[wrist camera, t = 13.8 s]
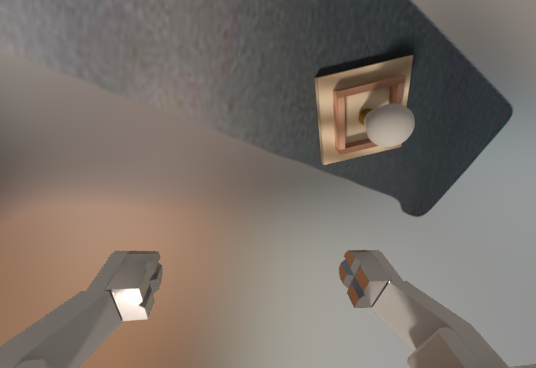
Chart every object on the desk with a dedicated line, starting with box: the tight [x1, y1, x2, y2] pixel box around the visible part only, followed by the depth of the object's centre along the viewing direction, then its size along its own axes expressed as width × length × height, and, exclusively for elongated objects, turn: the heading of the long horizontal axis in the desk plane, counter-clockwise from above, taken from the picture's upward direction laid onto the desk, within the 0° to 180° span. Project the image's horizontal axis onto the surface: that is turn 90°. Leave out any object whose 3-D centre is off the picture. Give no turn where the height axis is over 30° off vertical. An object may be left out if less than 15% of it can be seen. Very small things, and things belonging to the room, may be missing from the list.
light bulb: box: [358, 104, 415, 147], centre depth 31 cm, size 6×6×10 cm
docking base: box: [315, 55, 413, 165], centre depth 35 cm, size 15×15×4 cm
